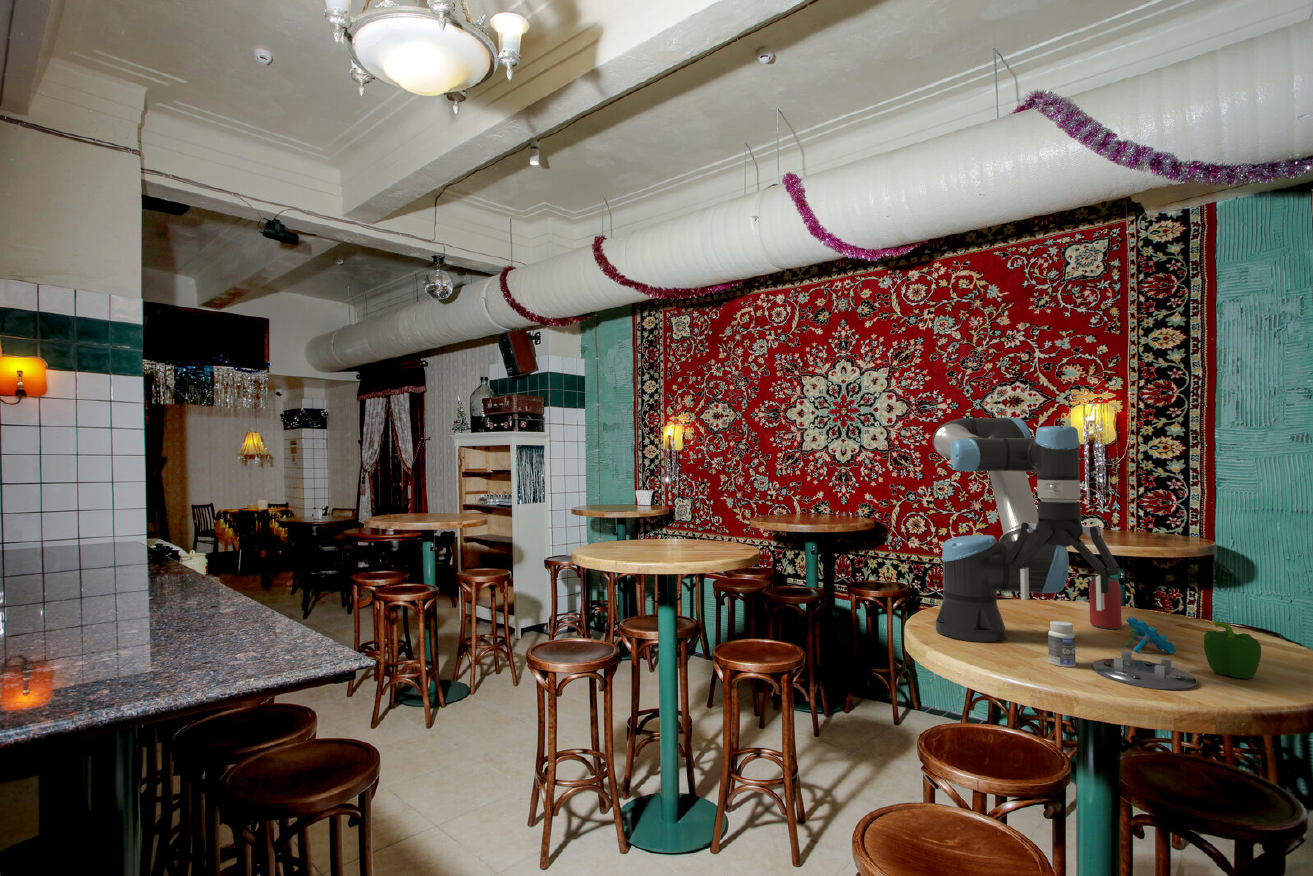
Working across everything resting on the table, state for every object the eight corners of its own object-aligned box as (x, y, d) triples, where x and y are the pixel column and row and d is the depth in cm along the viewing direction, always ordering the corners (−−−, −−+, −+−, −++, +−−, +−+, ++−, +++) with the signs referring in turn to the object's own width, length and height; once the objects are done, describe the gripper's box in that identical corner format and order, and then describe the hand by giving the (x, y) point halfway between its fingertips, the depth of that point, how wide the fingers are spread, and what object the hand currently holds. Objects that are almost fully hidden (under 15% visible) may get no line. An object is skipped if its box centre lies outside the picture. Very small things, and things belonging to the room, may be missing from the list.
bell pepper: (1268, 677, 125) (1266, 624, 125) (1254, 685, 121) (1252, 631, 121) (1213, 665, 132) (1212, 616, 132) (1197, 672, 128) (1196, 621, 128)
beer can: (1084, 622, 166) (1083, 575, 166) (1112, 623, 165) (1111, 576, 166) (1098, 629, 160) (1097, 580, 160) (1127, 630, 159) (1126, 581, 159)
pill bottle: (1065, 668, 130) (1064, 626, 131) (1043, 662, 135) (1042, 621, 135) (1081, 665, 132) (1080, 624, 132) (1058, 659, 137) (1057, 619, 137)
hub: (1083, 675, 126) (1083, 658, 126) (1104, 657, 137) (1104, 642, 138) (1189, 697, 115) (1188, 678, 115) (1202, 675, 126) (1201, 659, 126)
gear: (1189, 653, 135) (1147, 617, 137) (1169, 673, 135) (1128, 636, 137) (1157, 645, 146) (1119, 612, 148) (1138, 664, 146) (1101, 630, 148)
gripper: (988, 499, 141) (990, 597, 140) (1127, 504, 123) (1131, 617, 122) (1000, 497, 146) (1002, 592, 145) (1136, 502, 128) (1139, 611, 127)
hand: (1061, 604), depth 134 cm, fingers open, 13 cm apart
